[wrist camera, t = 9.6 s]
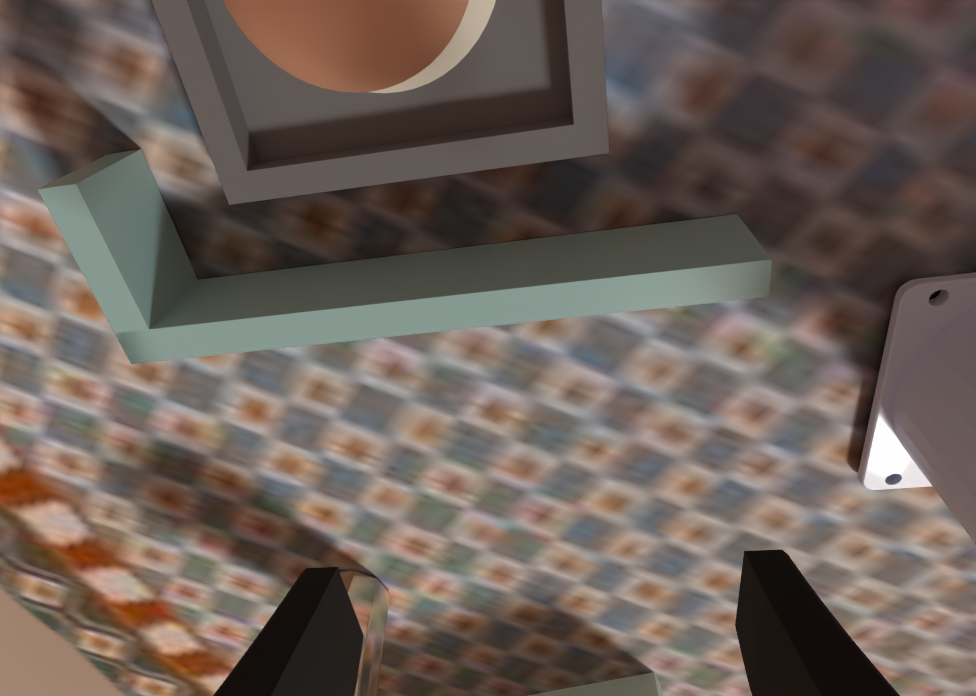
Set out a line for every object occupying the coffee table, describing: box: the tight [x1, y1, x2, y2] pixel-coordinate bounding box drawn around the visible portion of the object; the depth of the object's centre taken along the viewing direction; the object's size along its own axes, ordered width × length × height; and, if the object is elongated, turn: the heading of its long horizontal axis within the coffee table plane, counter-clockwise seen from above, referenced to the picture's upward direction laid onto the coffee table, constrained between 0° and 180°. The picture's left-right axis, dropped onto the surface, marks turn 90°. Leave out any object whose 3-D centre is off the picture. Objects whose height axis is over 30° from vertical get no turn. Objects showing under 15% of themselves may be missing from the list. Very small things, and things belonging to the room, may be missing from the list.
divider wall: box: [38, 149, 772, 364], centre depth 17 cm, size 17×5×3 cm, turn 99°
